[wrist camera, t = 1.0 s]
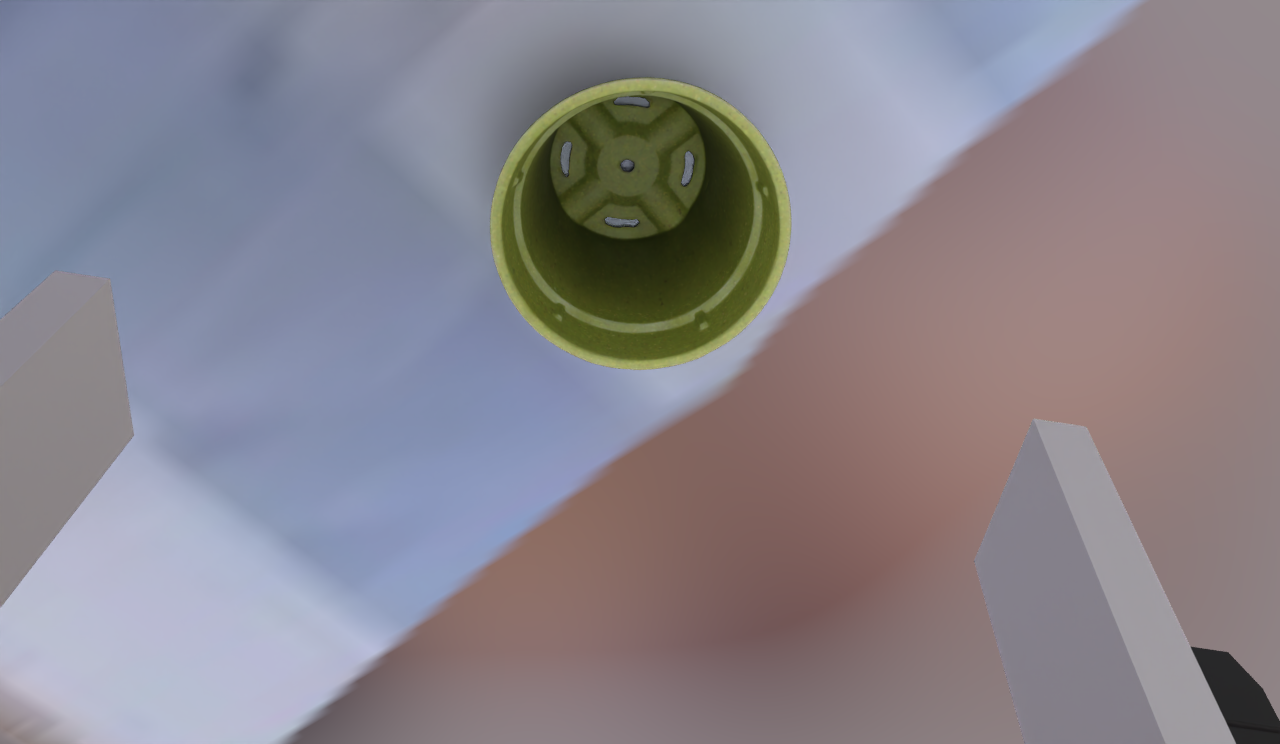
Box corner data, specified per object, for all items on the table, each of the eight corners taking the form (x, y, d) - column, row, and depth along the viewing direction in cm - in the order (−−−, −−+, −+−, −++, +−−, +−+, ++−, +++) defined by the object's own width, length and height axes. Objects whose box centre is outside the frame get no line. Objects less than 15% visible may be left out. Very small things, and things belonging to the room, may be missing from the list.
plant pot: (764, 42, 40) (810, 87, 32) (738, 283, 44) (773, 375, 36) (508, 27, 39) (490, 69, 31) (505, 273, 43) (489, 365, 35)
